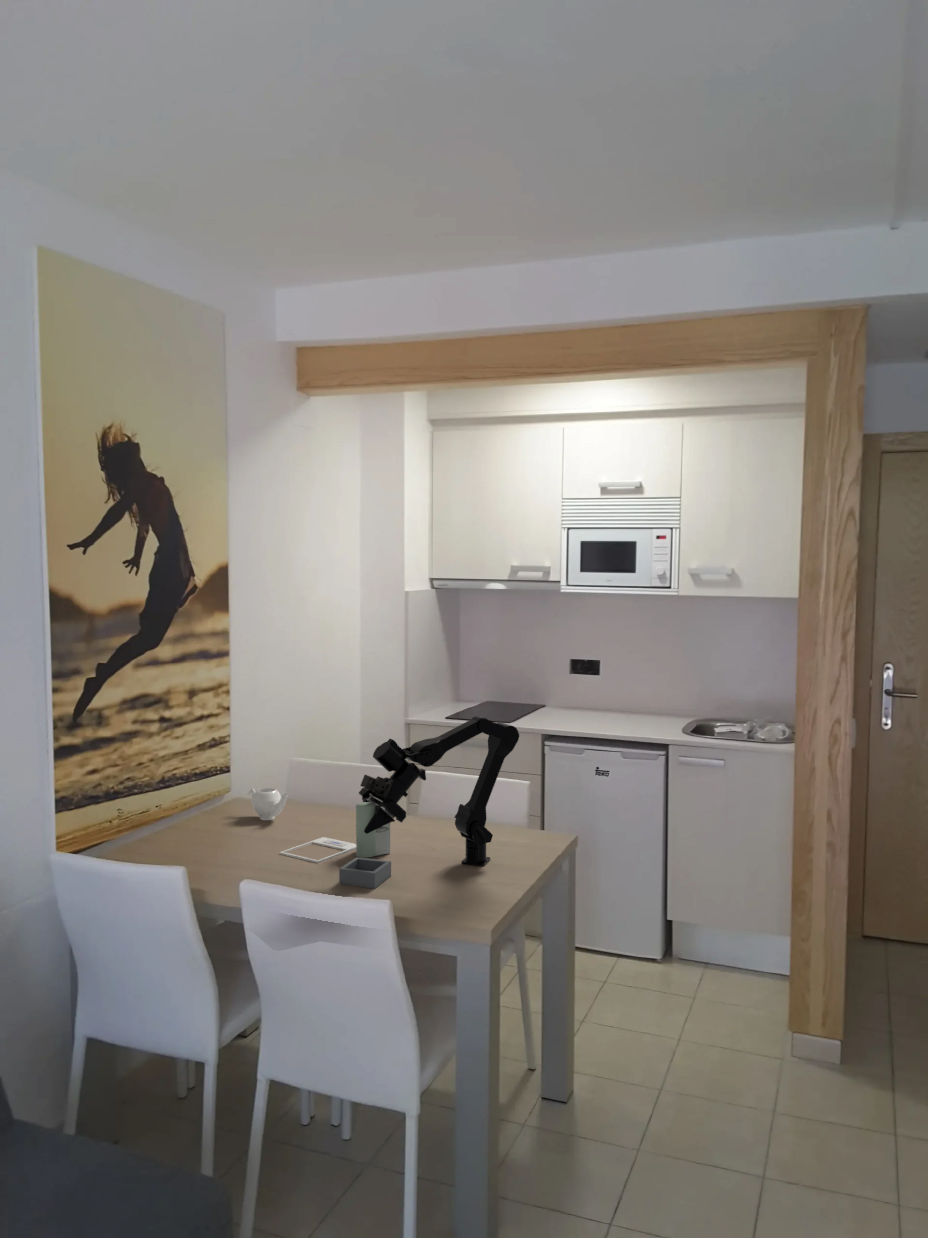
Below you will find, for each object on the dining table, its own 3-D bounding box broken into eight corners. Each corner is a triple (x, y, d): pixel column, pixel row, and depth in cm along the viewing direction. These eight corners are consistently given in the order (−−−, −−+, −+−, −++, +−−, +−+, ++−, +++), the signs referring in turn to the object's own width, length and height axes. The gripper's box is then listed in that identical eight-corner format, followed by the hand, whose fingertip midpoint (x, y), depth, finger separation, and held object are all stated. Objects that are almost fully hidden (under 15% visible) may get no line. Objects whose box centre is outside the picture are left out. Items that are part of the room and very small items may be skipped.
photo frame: (360, 844, 279) (318, 860, 264) (361, 848, 279) (318, 864, 264) (323, 836, 287) (279, 851, 273) (323, 840, 288) (279, 855, 273)
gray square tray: (356, 872, 257) (356, 857, 257) (391, 876, 254) (391, 861, 253) (339, 884, 247) (339, 868, 247) (375, 888, 244) (374, 873, 244)
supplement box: (367, 858, 269) (367, 813, 268) (355, 851, 275) (355, 807, 274) (391, 854, 273) (391, 809, 272) (378, 847, 279) (378, 804, 278)
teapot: (260, 810, 319) (259, 782, 319) (298, 821, 306) (298, 792, 306) (235, 816, 312) (235, 787, 312) (274, 827, 299) (274, 798, 299)
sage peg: (368, 850, 253) (368, 801, 252) (379, 854, 249) (379, 805, 249) (352, 854, 250) (352, 804, 249) (363, 858, 246) (363, 808, 245)
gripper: (365, 757, 258) (326, 803, 254) (394, 770, 242) (354, 819, 237) (392, 782, 263) (354, 828, 258) (423, 797, 246) (383, 846, 242)
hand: (361, 830), depth 249 cm, fingers closed on sage peg, 5 cm apart
